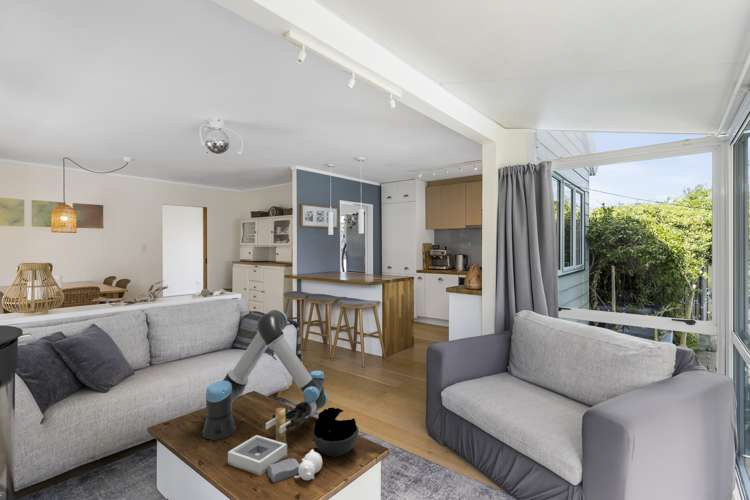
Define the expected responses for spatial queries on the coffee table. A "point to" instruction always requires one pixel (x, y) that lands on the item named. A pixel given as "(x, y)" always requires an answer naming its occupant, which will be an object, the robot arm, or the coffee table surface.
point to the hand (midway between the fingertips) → (273, 428)
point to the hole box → (257, 454)
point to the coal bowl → (334, 433)
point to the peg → (279, 422)
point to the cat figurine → (309, 465)
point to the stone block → (283, 469)
